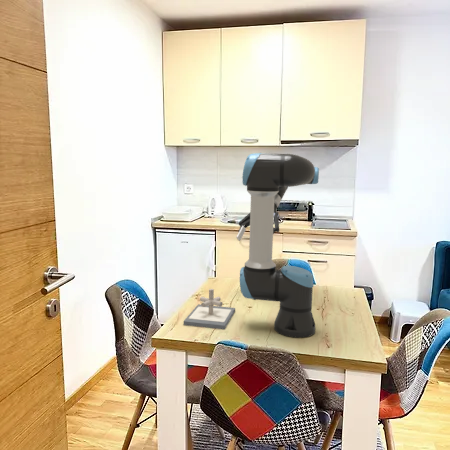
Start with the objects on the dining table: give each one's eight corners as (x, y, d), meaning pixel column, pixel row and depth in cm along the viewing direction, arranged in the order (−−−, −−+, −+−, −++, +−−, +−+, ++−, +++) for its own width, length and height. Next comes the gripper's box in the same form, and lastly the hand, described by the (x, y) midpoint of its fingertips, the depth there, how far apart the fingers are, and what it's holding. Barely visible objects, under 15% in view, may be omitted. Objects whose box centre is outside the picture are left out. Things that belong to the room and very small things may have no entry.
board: (198, 307, 181) (198, 303, 181) (235, 311, 178) (235, 307, 177) (183, 324, 162) (183, 320, 161) (224, 329, 158) (224, 325, 158)
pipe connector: (213, 320, 162) (213, 294, 161) (193, 314, 168) (193, 289, 167) (228, 313, 170) (229, 289, 169) (209, 307, 176) (209, 284, 175)
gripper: (297, 211, 190) (279, 250, 181) (250, 207, 205) (231, 242, 195) (292, 200, 185) (273, 239, 176) (244, 196, 200) (224, 232, 190)
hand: (250, 241), depth 185 cm, fingers open, 13 cm apart
